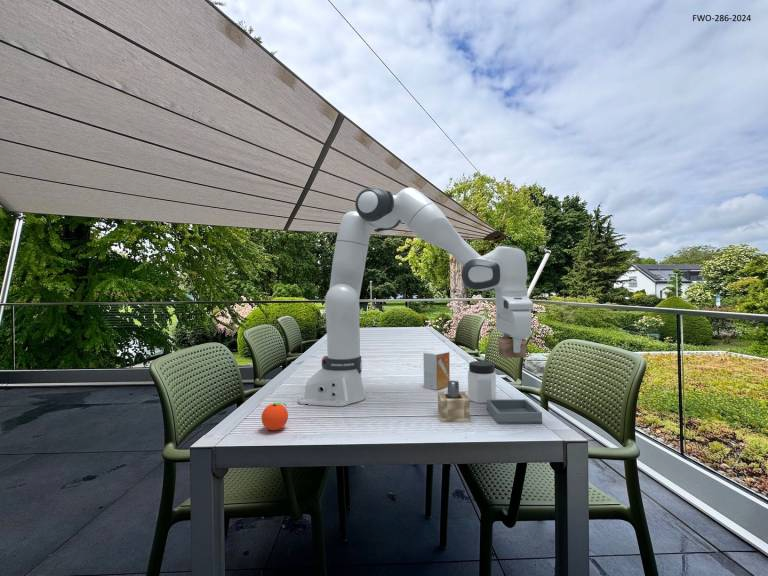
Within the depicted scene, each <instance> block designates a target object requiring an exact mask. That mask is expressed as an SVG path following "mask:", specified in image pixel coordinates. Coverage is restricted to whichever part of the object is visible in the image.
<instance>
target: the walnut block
mask: <svg viewBox="0 0 768 576" xmlns="http://www.w3.org/2000/svg"><path fill="white" fill-rule="evenodd" d="M497 342H498V344H497V345H498V346H497V347H498V355H500V356H501V357H503V358H505V359H506V358H511V359H512V358H517V359H518V358H522V359H523V358H527V338H522V343H521V346H520V352H519V353H515V352H513V351H512V346H513V336H510V337H503V336H498V339H497Z"/></svg>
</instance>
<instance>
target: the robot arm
mask: <svg viewBox="0 0 768 576" xmlns="http://www.w3.org/2000/svg"><path fill="white" fill-rule="evenodd" d="M354 203H355V205H354V206H355V209H356V210H351V211H348V212H346V213H345V214H344V215H343V216H342V219H341V221H340V224H339V227H338V231H337V234H336V235H337V236H336V240H335V245H334V246H335V247H334V253H333V258H332V264H331V265H332V266H331V273H330V274H331V275H330V280H329V281H330V282H329V289H328V290H327V292H326V295H325V297H324V304H325V305H324V306H325V309H324V310H325V323H326V324H325V326H326V338H327V339H326V340H327V341H326V344H327V345H326V346H327V353H326V354H327V355H324V356H322V358H321V368H320V369H319V370H318V371H316V373H315V374H313V375H312V376H311V377H310V378H309V379H308V380H307V382H306V384H305V389H304V392H302V393H300V394H299V396H298V399H297V402H299V403H300V404H299V403H298V404H299V405H305V404H308V405H307V406H309V405H310V406H322V407H323V406H324V407H344V406H347V405H350V404H354V403H355V404H356V403H358V402H361V401H364V399H366V394H365V391H364V385H363V379H362V370H363V364H362V363H363V361H362V356H361V344H360V343H361V342H360V341H361V340H360V339H361V338H360V334H361V333H360V332H361V331H360V296H361V291H362V290H361V289H362V285H363V278H364V274H365V273H364V272H365V267H366V262H367V256H368V251H369V243H370V237H371V234H372V233H373V232H376V233H379V232H383V231H389V230H393V229H396V228H397V227H398V226H399V225H400V224H401V222H402V223H403V224H404V225H406V227H407V228H408V229H409V230H410V231H411V232H412V233H413V235H415V236H417V238H420V239H421V240H422V241H424V242H425V243H428V244H430V245H433V246H436V247H438V248H440V249H442V250H444V251H446V252H447V253H449V254H450V255H451V256H452V257H453V258H454V259H455V260H456V261H457V262H458V263H459V264H460V265H461V266H463V267H462V268H461V269H462V270H461V279H462V282H463V284H464V285H465V286H466V287H467V288H469V289H470V290H473V291H483V292H492V291H494V296H495V297H494V301H495V303H494V304H495V306H494V307H495V308H496V312H495V327H496V330H497V331H499V332H502V334H501V335H502V337H513V346H512V351H513V352H515V353H519V352H520V346H521V343H522V338H523V339H530V337H531V333H532V318H533V317H532V311H531V310H533V309H534V303H533V301H532V300H531V298H529V295H528V293H529V292H528V287H527V279H528V263H527V256H526V252H525V251H524V250H523V249H522V248H520V247H518V246H515V245H514V246H513V245H507V244H506V245H505V244H504V245H498V246H496V247H495V248H494V249H493V250H491V251H489V252H488V253H486V254H484V255H481V254H480V253H479V252H478V251H476V249H475V248H473V246H471V245H470V244H469V243H468V242H467V241H466V239H464V238H463V237H462V236H461V235H460V234H459V232H458V231H457V230H456V229H455V227H454V225H453V224H451V222H450V220H449V219H448V218H447V216H446V215H445V213H444V212H443V211H442V210H441V209H440V208H439V206H438V205H436V204H435V203H434V202H433V201H432V200H431V199H430V198H429V197H427V196H426V195H425V194H424V193H422V191H421V192H420V191H419V190H418V189H416V188H414V187H410V186H409V187H405V188H402V189H401V190H400V191H399V192H398V193H396V194H395V195H394V194H393V193H392V192H391V191H390V190H385V189H380V188H377V187H367V188H364V189H362V190H361V191H360V192H359V193H358V194H357V196H356V199H355V202H354Z"/></svg>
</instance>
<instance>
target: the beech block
mask: <svg viewBox="0 0 768 576" xmlns="http://www.w3.org/2000/svg"><path fill="white" fill-rule="evenodd" d="M437 413H438V416H439V419H440V422H441V423H470V422H471V400H470V399H469V398H468V395H467V393H466V392H465V391H459V399H448V391H445V392H444V391H441V392H439V391H438V392H437Z"/></svg>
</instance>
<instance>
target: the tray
mask: <svg viewBox="0 0 768 576" xmlns="http://www.w3.org/2000/svg"><path fill="white" fill-rule="evenodd" d="M486 411H487V412H488V413H489V415H490V416H491V417H492V419H493V420H494V422H495V423H496V424H497V425H542V424H543V412H542V411H540V410H539V409H538V408H537V407H536V406H535V405H534V404H532V403H531V402H530V401H529V400H528V399H525V398H523V399H522V398H521V399H518V398H517V399H496V400H487V403H486Z"/></svg>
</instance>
